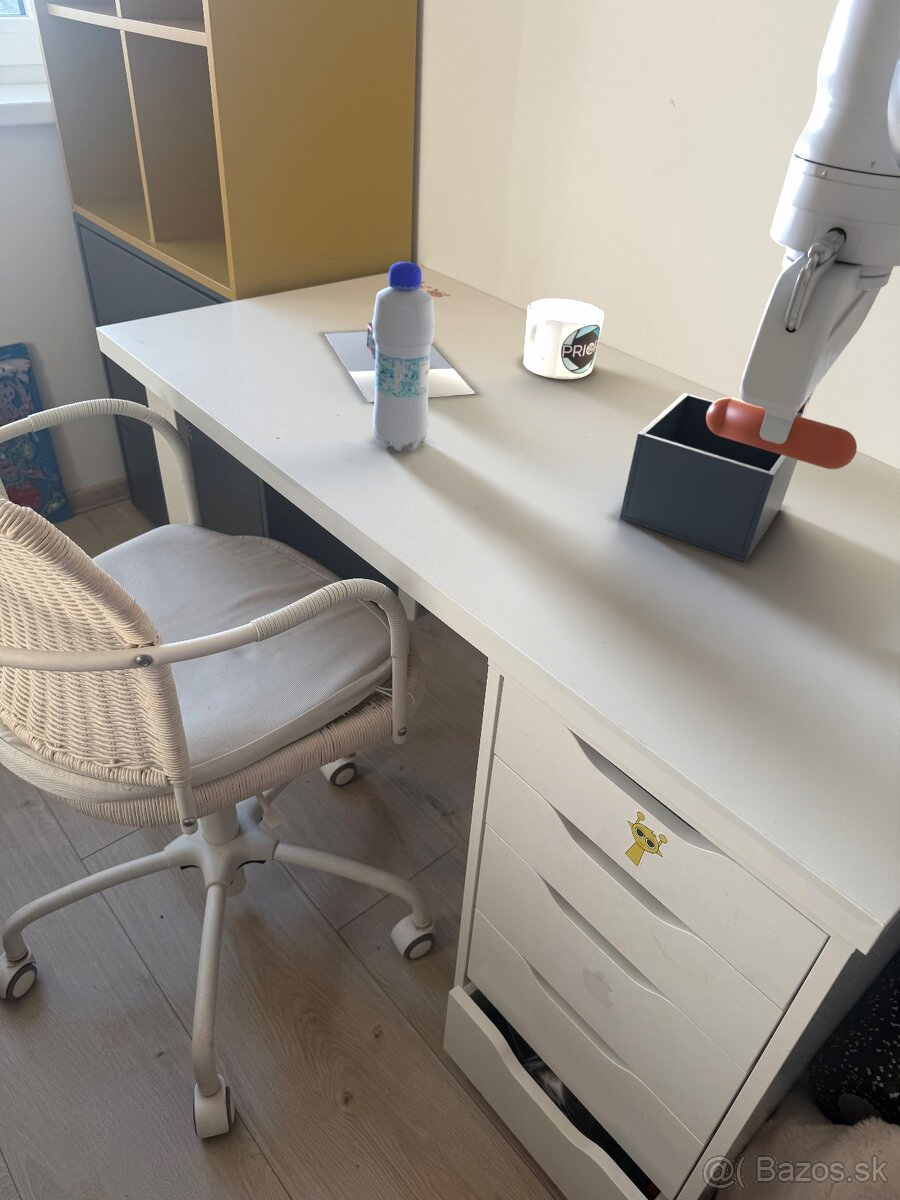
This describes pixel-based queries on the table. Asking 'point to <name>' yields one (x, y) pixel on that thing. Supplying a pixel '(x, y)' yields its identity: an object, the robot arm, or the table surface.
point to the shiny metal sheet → (360, 363)
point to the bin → (703, 482)
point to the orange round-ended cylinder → (802, 444)
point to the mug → (562, 337)
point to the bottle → (402, 358)
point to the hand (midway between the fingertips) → (781, 428)
